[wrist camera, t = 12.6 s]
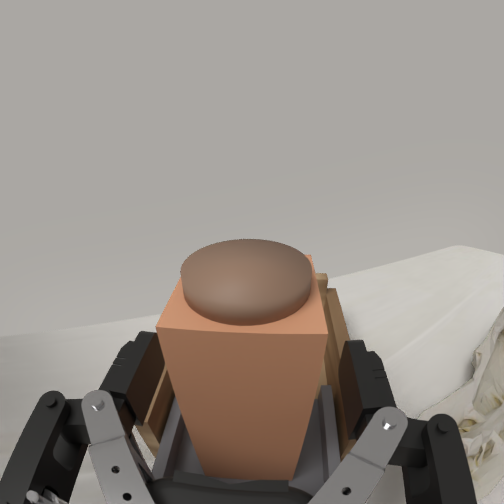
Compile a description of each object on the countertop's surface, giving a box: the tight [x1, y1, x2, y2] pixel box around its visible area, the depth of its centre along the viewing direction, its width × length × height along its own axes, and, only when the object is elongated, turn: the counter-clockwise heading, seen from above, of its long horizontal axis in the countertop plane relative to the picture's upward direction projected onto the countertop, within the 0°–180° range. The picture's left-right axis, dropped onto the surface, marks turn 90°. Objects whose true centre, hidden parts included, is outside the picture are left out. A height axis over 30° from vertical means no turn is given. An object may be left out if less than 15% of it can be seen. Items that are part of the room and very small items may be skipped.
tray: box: [152, 385, 341, 496], centre depth 13 cm, size 10×13×4 cm
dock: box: [135, 273, 356, 462], centre depth 21 cm, size 13×14×7 cm
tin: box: [156, 239, 328, 481], centre depth 13 cm, size 5×5×13 cm
